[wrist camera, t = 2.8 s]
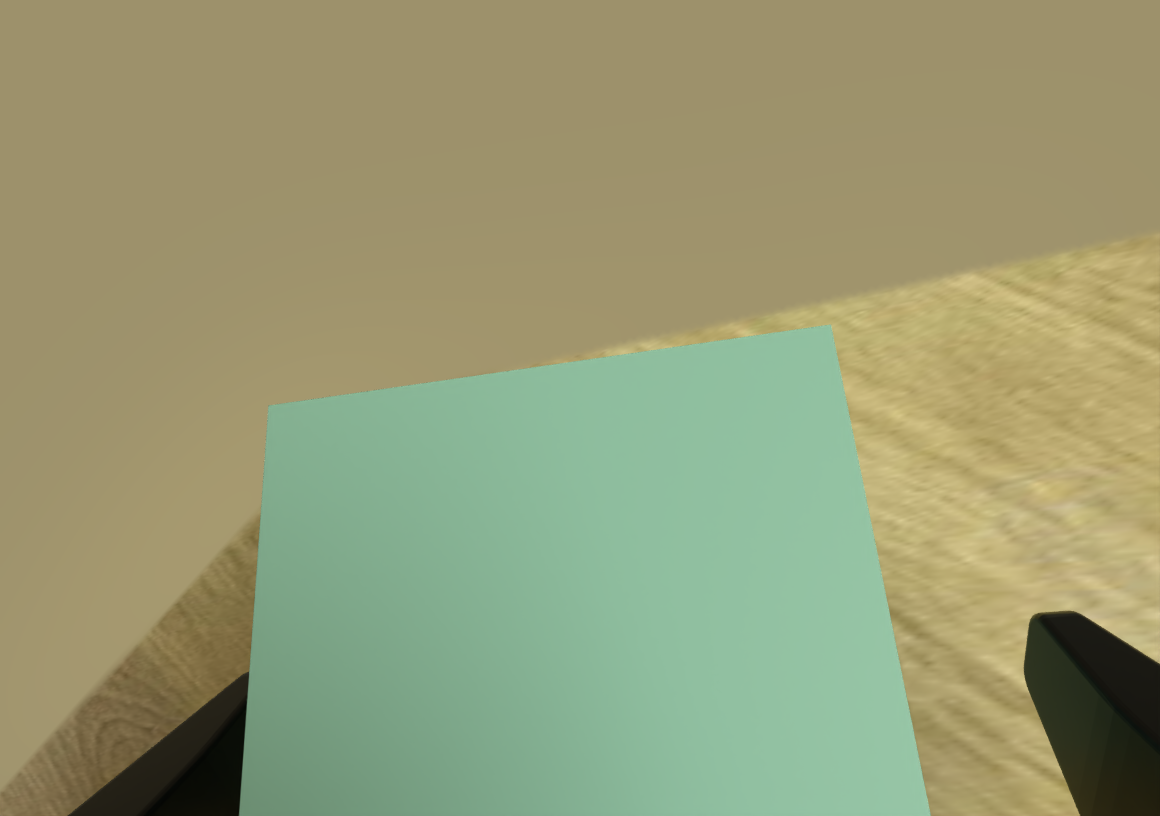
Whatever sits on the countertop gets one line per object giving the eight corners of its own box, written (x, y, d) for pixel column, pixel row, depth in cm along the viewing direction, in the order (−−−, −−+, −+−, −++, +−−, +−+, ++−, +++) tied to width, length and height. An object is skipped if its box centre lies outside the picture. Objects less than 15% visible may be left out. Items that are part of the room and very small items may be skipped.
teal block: (793, 748, 15) (990, 1110, 4) (584, 758, 16) (220, 1083, 4) (760, 535, 16) (830, 323, 5) (570, 553, 17) (269, 405, 6)
